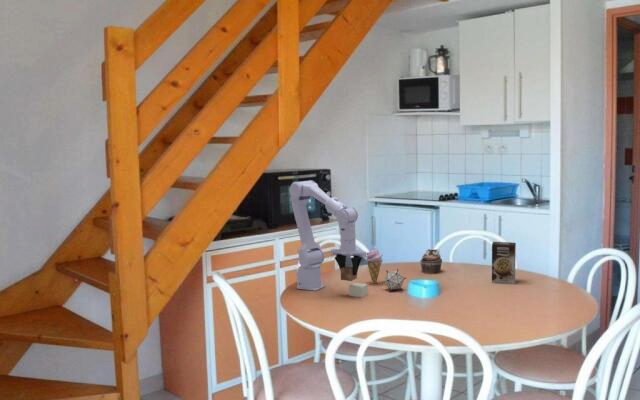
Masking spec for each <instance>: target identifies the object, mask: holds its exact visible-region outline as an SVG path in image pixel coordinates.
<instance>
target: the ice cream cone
mask: <svg viewBox="0 0 640 400" xmlns="http://www.w3.org/2000/svg"><path fill="white" fill-rule="evenodd" d="M379 251H380V250H379V249H378V248H375V247H373V248H372V249H369V251H368V252H366V256H367V257H366V262H367V268H368V272H369V275H370V278H371V282H372V284H373V285H376V284H377V283H378V278H379V275H380V269H381V267H382V263H383V258H382V257H383V254H380V252H379Z"/></svg>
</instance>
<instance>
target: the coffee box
mask: <svg viewBox="0 0 640 400" xmlns="http://www.w3.org/2000/svg"><path fill="white" fill-rule="evenodd" d="M516 244H517V243H516V242H510V241H509V242H506V241H493V242H492V243H491V283H492V284H493V283H494V284H509V285H515V283H516V257H517V255H516V253H517V252H516V249H517V248H516V247H517V245H516Z"/></svg>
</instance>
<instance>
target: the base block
mask: <svg viewBox="0 0 640 400" xmlns="http://www.w3.org/2000/svg"><path fill="white" fill-rule="evenodd" d="M368 292H369V291H368V283H360V282H359V283H358V282H354V283H352V284H350V285H349V286H348V297H356V298H363V297H365V296H366V295H368V294H369V293H368Z"/></svg>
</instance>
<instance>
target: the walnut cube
mask: <svg viewBox="0 0 640 400" xmlns="http://www.w3.org/2000/svg"><path fill="white" fill-rule="evenodd" d="M357 277H358V274H357V275H355V276H354V275H353V267H352V266H351V265H350V266H349V265H345V267H343V268H341V271H340V280H341V281H348V282H352V281H354V280H357V279H358V278H357Z"/></svg>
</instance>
